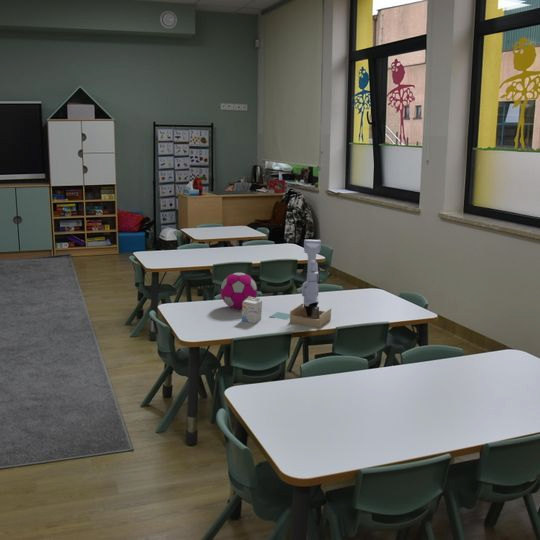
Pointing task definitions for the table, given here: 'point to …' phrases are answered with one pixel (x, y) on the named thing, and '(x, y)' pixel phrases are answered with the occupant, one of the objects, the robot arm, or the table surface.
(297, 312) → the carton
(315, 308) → the walnut block
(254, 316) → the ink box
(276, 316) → the teal mat
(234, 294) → the soccer ball
